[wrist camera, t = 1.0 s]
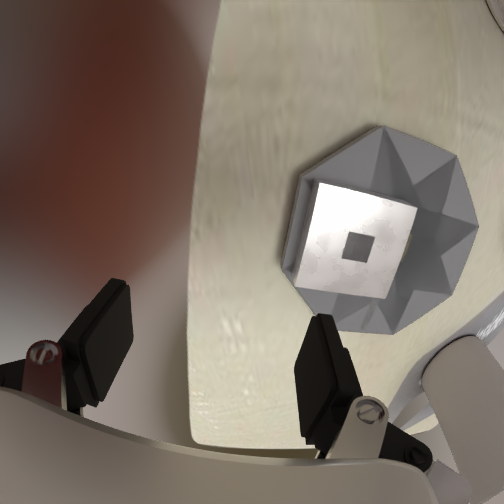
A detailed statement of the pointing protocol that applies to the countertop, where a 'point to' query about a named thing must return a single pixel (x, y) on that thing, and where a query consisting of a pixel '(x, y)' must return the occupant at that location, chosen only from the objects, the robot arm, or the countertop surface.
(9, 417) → the robot arm
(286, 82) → the countertop surface
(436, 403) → the cylinder vase
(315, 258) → the cover
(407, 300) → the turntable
